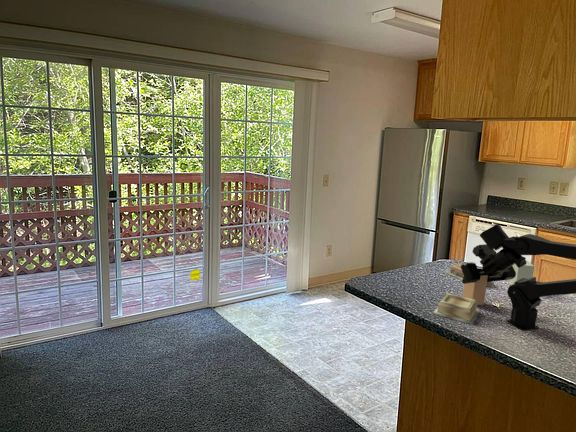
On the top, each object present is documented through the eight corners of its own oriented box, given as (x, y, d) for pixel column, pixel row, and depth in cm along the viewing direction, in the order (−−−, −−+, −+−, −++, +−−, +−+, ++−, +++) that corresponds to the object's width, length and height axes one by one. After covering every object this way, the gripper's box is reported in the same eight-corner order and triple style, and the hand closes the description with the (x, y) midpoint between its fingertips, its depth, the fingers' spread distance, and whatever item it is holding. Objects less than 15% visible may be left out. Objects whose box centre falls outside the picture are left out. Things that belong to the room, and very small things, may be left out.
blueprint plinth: (479, 312, 142) (481, 299, 141) (472, 324, 132) (474, 311, 131) (442, 302, 149) (444, 291, 148) (432, 313, 139) (434, 301, 138)
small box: (530, 292, 163) (535, 266, 161) (514, 291, 164) (518, 264, 162) (523, 285, 170) (527, 260, 168) (508, 284, 171) (512, 258, 169)
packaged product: (496, 274, 168) (477, 276, 165) (494, 286, 169) (475, 288, 166) (463, 261, 185) (444, 262, 181) (461, 271, 186) (443, 273, 182)
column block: (483, 304, 149) (488, 274, 147) (471, 305, 147) (475, 275, 145) (473, 299, 153) (477, 269, 151) (462, 300, 152) (465, 270, 150)
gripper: (514, 238, 144) (486, 260, 156) (468, 239, 138) (442, 262, 151) (530, 268, 138) (499, 288, 151) (482, 270, 133) (454, 291, 145)
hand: (473, 281), depth 149 cm, fingers open, 9 cm apart
